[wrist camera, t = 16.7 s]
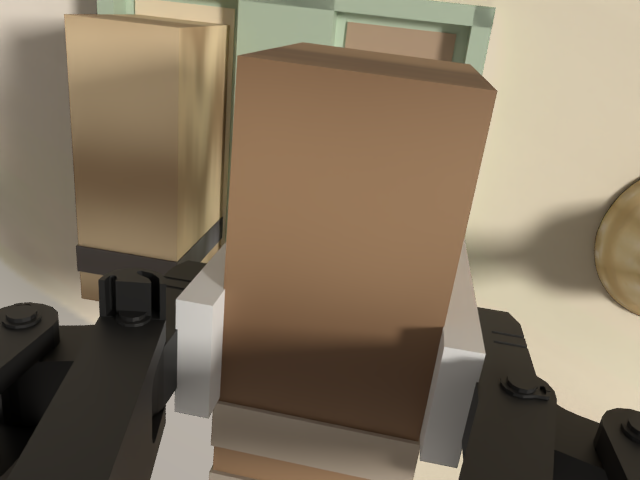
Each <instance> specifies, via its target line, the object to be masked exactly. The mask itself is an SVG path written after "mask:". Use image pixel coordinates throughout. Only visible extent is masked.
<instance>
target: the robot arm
mask: <svg viewBox="0 0 640 480" xmlns="http://www.w3.org/2000/svg"><path fill="white" fill-rule="evenodd" d="M225 255H226V242H225V243H224V245H223V246H222V247H221V248H220V249H219V250H218V251H217V253H216V254H215V255H214V256H213V257H212V258H211V260H210V261H209V262H208V263H202V262H196V261H190V260H187V261H185V262H183V263H181V264H178V265H176V266H174V267H172V268H171V269H170V270H169V271H168V272H167V273H166V274H165V275H164V276H163V275H162V274H161V273H158V272H156V271H153V270H150V269H144V268H125V269H119V270H114V271H112V272H109V273H107V274H104V275H103V276H102V277H101V278H100V279H99V280H98V286H99V308H100V317H99V319H98V320H97V322H96V324H95V325H85V326H59V320H58V312H57V311H56V310H55V309H54V308H53V307H50V306H47V305H44V304H38V303H31V302H29V303H18V304H14V305H11V306H8V307H4V308H1V309H0V480H150V478H151V474H152V471H153V467H154V463H155V460H156V456H157V452H158V448H159V445H160V441H161V437H162V434H163V430H164V427H165V423H166V419H165V418H166V417H165V415H166V413H165V412H166V411H165V410H166V408H165V407H166V403H167V401H168V400H169V399H170V397H171V396H172V394H173V392H174V391H175V412H179V413H184V414H189V415H194V416H199V417H204V418H209V417H210V415H211V413H212V411H213V409H214V407H215V405H216V404H217V402H218V400H219V398H220V383H221V362H222V342H223V321H224V300H225V289H224V272H225ZM461 451H463V464H462V468H461V472H460V476H459V480H640V412H639V411H635V410H632V409H623V408H615V409H612V410H608V411H606V413H605V414H604V415H603V416H602V419H601V421H600V423H597V422H595V421H592V420H589V419H587V418H584V417H581V416H579V415H576V414H574V413H572V412H570V411H567V410H565V409H564V408H562V407H560V406H559V405H557V398H556V395H555V392H554V390H553V389H552V388H551V387H550V386H549V384H548V383H547V382H545V381H544V380H542V379H540V378H539V377H537V376H536V373H535V370H534V367H533V364H532V361H531V357H530V354H529V351H528V349H527V344H526V341H525V339H524V335H523V332H522V328H521V325H520V324H519V323H518V322H517V321H516V320H515V319H514V318H513V317H512V316H511V315H510V314H509V313H508V312H503V311H497V310H491V309H485V308H479V307H477V304H476V298H475V293H474V287H473V282H472V276H471V271H470V265H469V260H468V254H467V249H466V243H465V238H464V241H463V246H462V250H461V255H460V259H459V263H458V268H457V272H456V277H455V281H454V286H453V290H452V295H451V299H450V303H449V308H448V312H447V317H446V321H445V326H444V327H443V330H442V335H441V339H440V344H439V349H438V354H437V358H436V363H435V368H434V373H433V377H432V382H431V387H430V392H429V396H428V401H427V406H426V410H425V415H424V419H423V423H422V428H421V432H420V461H424V462H429V463H434V464H439V465H444V466H449V467H454V468H457V467H458V463H459V459H460V455H461Z"/></svg>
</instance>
